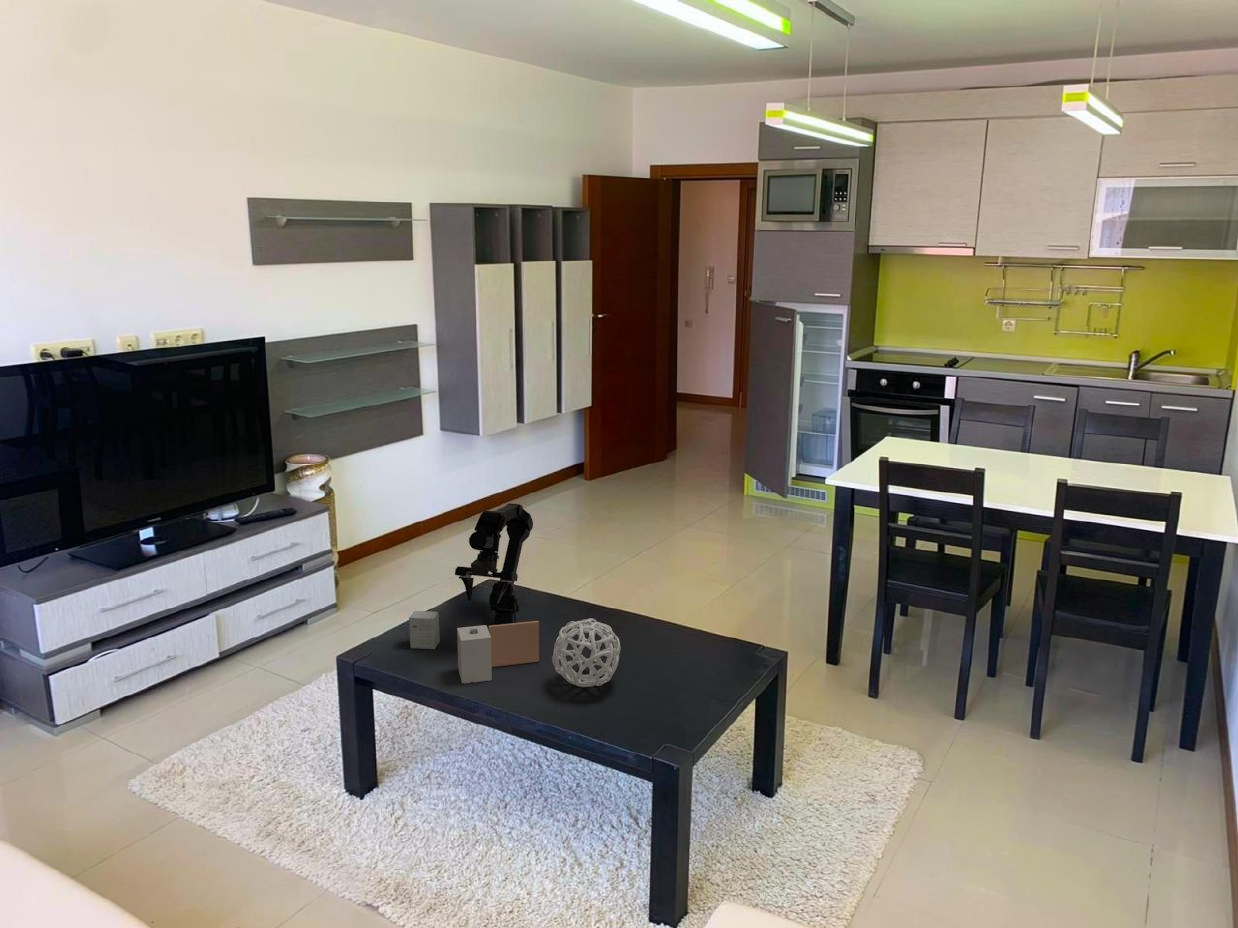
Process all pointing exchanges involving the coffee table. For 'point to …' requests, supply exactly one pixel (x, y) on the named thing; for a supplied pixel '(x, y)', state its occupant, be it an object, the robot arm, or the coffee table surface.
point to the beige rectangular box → (474, 654)
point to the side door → (514, 643)
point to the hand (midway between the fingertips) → (483, 601)
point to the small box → (424, 629)
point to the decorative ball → (588, 662)
